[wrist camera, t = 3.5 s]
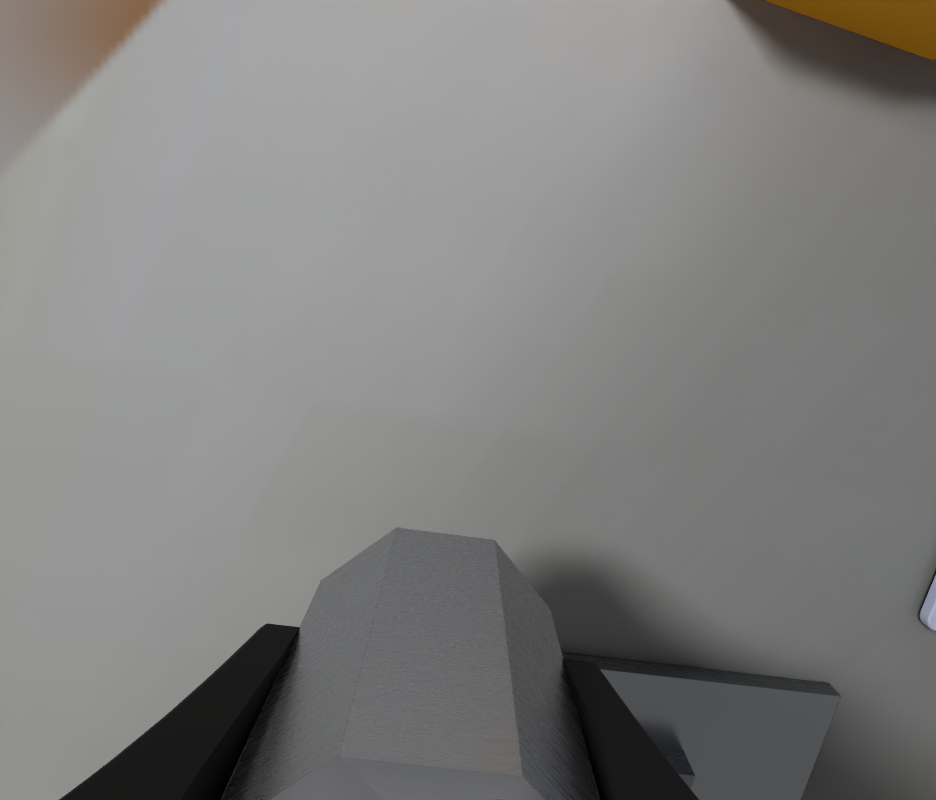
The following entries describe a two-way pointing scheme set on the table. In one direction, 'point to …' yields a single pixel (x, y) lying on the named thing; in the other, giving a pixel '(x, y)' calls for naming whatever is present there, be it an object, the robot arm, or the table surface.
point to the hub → (420, 686)
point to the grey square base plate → (727, 725)
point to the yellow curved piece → (878, 20)
